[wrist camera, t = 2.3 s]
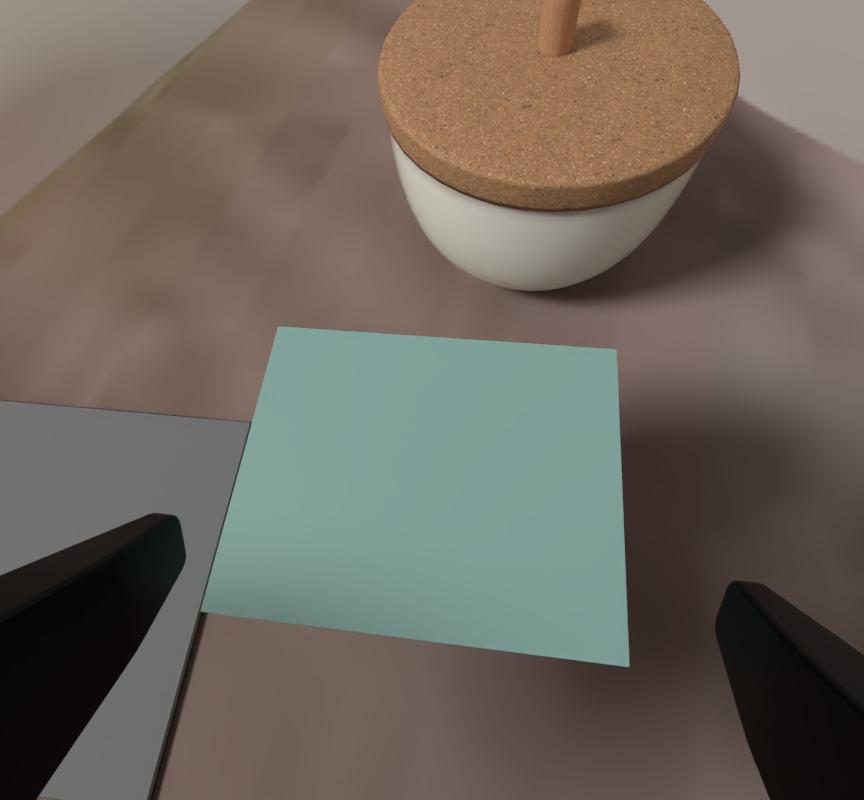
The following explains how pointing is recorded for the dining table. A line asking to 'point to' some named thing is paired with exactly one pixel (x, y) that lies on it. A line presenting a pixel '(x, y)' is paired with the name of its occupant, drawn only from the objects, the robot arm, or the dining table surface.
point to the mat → (105, 510)
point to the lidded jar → (551, 126)
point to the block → (432, 495)
